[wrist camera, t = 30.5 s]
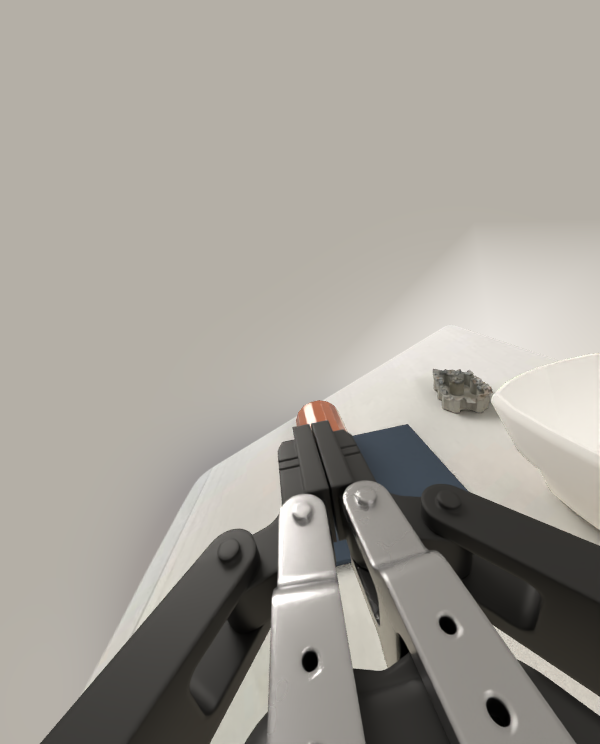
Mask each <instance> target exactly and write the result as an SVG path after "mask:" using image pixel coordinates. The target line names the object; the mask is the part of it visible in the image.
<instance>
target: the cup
mask: <svg viewBox="0 0 600 744" xmlns="http://www.w3.org/2000/svg"><path fill="white" fill-rule="evenodd" d="M325 420H328V421H329V423H330V425H331V428H332V430H333V431H337V430H342V429H344V430H345V431H347V429H346V427H345V425H344V423H343V421H342V418H341V416H340V414H339V412H338V410H337V409H336V407H335V406H334V405H332V404H331V403H329V402H326V401H320V400H319V401H314V402H310V403H308V404H307V405H305V406H303V407H302V409H301V410H300V411H299V412H298V415H297V419H296V423H297V426H301V425H306V424H310V427H311V423H315V422H320V421H325ZM311 430H312V429H311ZM347 432H348V431H347Z"/></svg>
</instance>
